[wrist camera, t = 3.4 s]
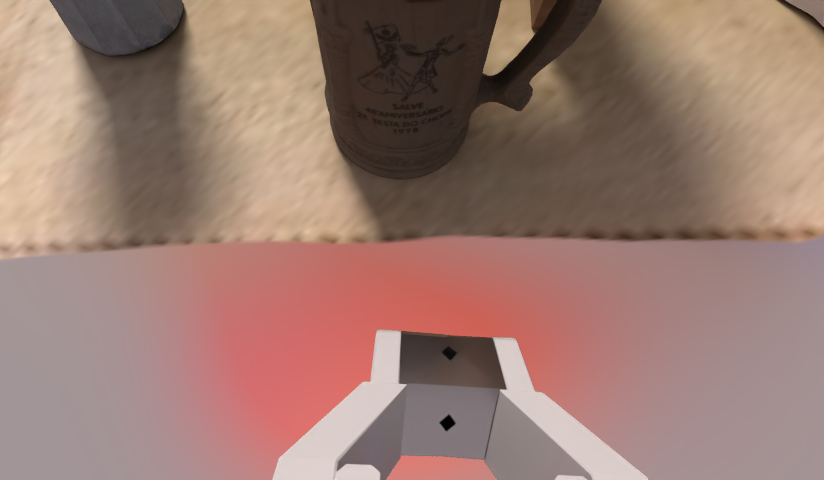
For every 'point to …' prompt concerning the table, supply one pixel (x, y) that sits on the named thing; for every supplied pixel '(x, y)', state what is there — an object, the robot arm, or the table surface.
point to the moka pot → (119, 23)
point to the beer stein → (424, 74)
